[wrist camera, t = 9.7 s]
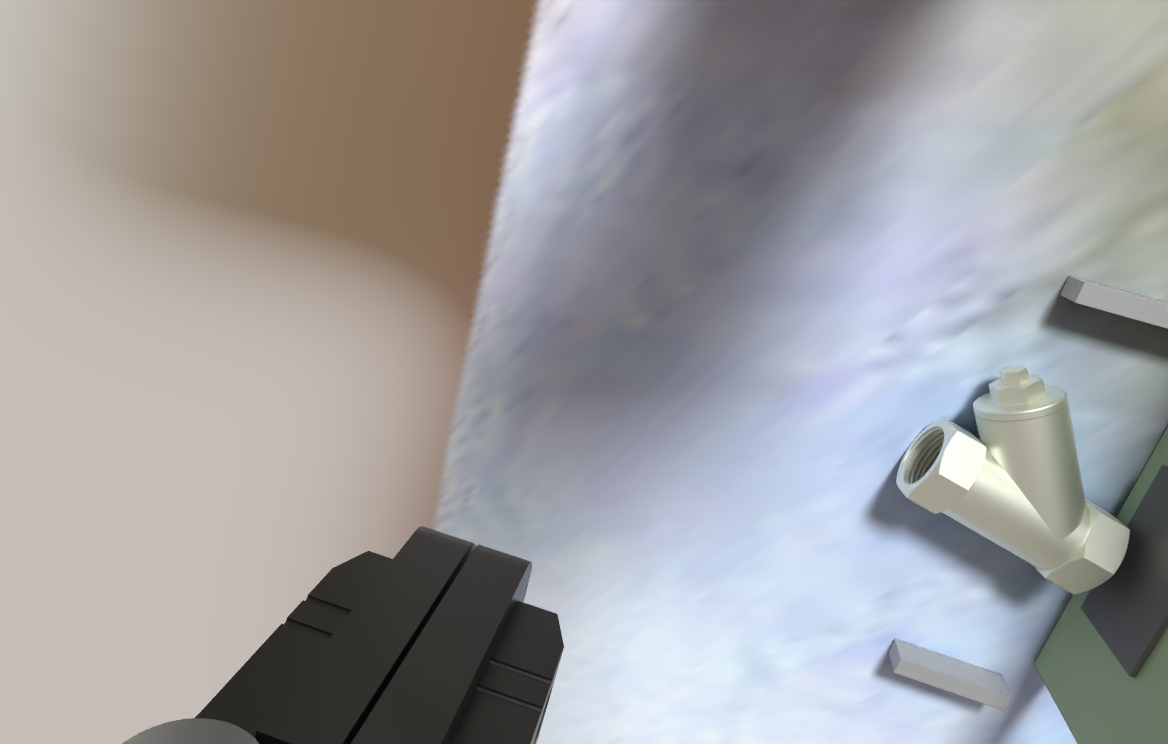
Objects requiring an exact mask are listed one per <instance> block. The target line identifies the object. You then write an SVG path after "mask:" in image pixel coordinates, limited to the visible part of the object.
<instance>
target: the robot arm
mask: <svg viewBox="0 0 1168 744" xmlns="http://www.w3.org/2000/svg"><path fill="white" fill-rule="evenodd" d="M531 568H532V562H530V561H527V560H524V559H521V558H518V557H515V556H512V555H509V554H506V553H503V552H500V551H496V550H493V549H490V548H487V547H484V546H481V545H477V546H476V545H475V544H474V543H471V542H468V541H465V540H462V539H459V538H456V537H453V536H450V535H447V534H444V533H441V532H438V531H435V530H432V529H429V528H426V527H423V526H422V527H419V528H418V529H417V530H416V531H415V532H414V534H413V535H412V536H411V537H410V539H409V540H408V541H407V542H406V544H405V545H404V546H403V547H402V549H401V550H400V551H399V552H398V554H397V555H396V556H395V557H394V559H391V558H387V557H385V556H382V555H379V554H376V553H373V552H370V551H368V552H365V553H363V554H361V555H359V556H357V557H355V558H353V559H351V560H349V561H347V562H345V563H343V564H340V565H339V566H337V567H334V568H333V569H331V571H330V572H329V573H328V574H327V575H326V576H325V577H324V578H323V579H322V580H321V581H320V583H319V584H318V585H317V586H316V587H315V588H314V589H313V590H312V591H311V592H310V593H309V595H308V597H307V599H306V601H302V602H301V603H300V604H299V605H298V607H297V608H296V609H295V610H294V611H293V612H292V613H291V614H290V615H289V616H288V618H287V620H286V623H285V624H281V625H280V626H279V627H278V629H277V630H276V631H275V632H274V633H273V634H272V635H271V636H270V637H269V638H268V639H267V640H266V641H265V642H264V644H263V645H262V646H261V647H260V648H259V649H258V650H257V651H256V652H255V653H254V654H253V656H252V657H251V658H250V659H249V660H248V661H247V662H246V663H245V664H244V666H242V668H241V669H240V670H239V671H238V672H237V673H236V674H235V675H234V676H233V677H232V679H231V680H230V681H229V682H228V683H227V684H226V685H225V686H224V687H223V688H222V689H221V690H220V692H219V693H218V694H217V695H216V696H215V697H214V698H213V699H212V700H211V701H210V702H209V703H208V705H207V706H206V707H205V708H204V709H203V710H202V711H201V712H200V713H199V714H198V715H197V716H196V717H195V718H193V719H182V720H177V721H172V722H167V723H164V724H161V725H158V726H155V727H152V728H150V729H147V730H145V731H143V732H141V733H139V734H137V735H135V736H134V737H132V738H130V739H129V740H127V741H126V742H124V743H122V744H536V743H537V740H538V736H539V733H540V729H541V726H542V722H543V719H544V715H545V712H546V708H547V705H548V701H549V698H550V694H551V691H552V687H553V683H554V680H555V676H556V673H557V669H558V666H559V662H560V659H561V655H562V652H563V648H564V645H563V640H562V635H561V630H560V625H559V620H558V615H557V614H555V613H552V612H549V611H546V610H543V609H541V608H538V607H535V606H532V605H529V604H526V603H523V601H524V597H525V593H526V589H527V585H528V581H529V577H530V573H531Z"/></svg>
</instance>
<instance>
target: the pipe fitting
mask: <svg viewBox="0 0 1168 744" xmlns="http://www.w3.org/2000/svg"><path fill="white" fill-rule="evenodd" d="M1000 377H1001V378H999V379H997V380H995V381H993V382H992V383H990V384H989V389H990V392H989V393H987V394H984V395H982V396H980V397H979V398H977V399H976V400H975V401H974V403H973V408H974V413H975V418H976V423H977V428H978V433H979V439H980V440H979V439H978V438H977V437H976V436H974V435H973V434H972V433H971V432H969V431H967V430H965V429H964V428H962V427H960V426H958V425H957V424H955V423H953V422H951V421H950V420H948V419H946V418H944V417H943V418H941V419H939V420H937V421H935V422H933V423H932V424H930V425H929V426H927V427H926V428H925V429H924V430H923V431H922V432H921V433H920V434H919V435H918V436H917V437H916V438H915V440H914V441H913V442H912V443H911V445H910V446H909V448H908V450H907V451H906V453H905V455H904V457H903V459H902V461H901V463H900V466H899V469H898V473H897V479H896V484H897V486H898V488H899V489H900V490H901V492H902V493H903V494H904V495H905V496H906V497H907V498H908V499H909V500H911V501H913V502H915V503H916V504H918V505H920V506H921V507H923V508H925V509H927V510H928V511H930V512H932V513H934V514H937V513H940V512H942V513H944V514H945V515H947V516H949V517H951V518H952V519H954V520H956V521H958V522H959V523H961V524H963V525H964V526H966V527H968V528H970V529H971V530H973V531H975V532H977V533H978V534H980V535H982V536H984V537H985V538H987V539H989V540H990V541H992V542H994V543H996V544H997V545H999V546H1001V547H1002V548H1004V549H1006V550H1008V551H1009V552H1011V553H1013V554H1015V555H1016V556H1018V557H1020V558H1021V559H1023V560H1025V561H1027V562H1028V563H1030V564H1032V565H1033V566H1034V567H1035V568H1036V569H1037V570H1038V572H1039V573H1041V574H1042V575H1043V576H1044V577H1045V578H1046V579H1047V580H1049V581H1051V582H1053V583H1054V584H1056V585H1058V586H1060V587H1061V588H1063V589H1065V590H1066V591H1068V592H1070V593H1072V594H1073V595H1075V594H1078V593H1082V592H1085V591H1088V590H1090V589H1093V588H1095V587H1097V586H1099V585H1101V584H1102V583H1104V582H1105V581H1107V580H1108V579H1109V578H1110V577H1112V576H1113V575H1114V573H1115V572H1116V571H1117V569H1118V568H1119V566H1120V565H1121V563H1122V561H1123V558H1124V556H1125V554H1126V550H1127V546H1128V542H1129V535H1130V529H1129V528H1128V527H1126V526H1125V525H1124V524H1123V523H1122V522H1121V521H1119V520H1118V519H1117V518H1115V517H1114V516H1113V515H1111V514H1110V513H1109V512H1107V511H1106V510H1104V509H1103V508H1101V507H1099V506H1098V505H1096V504H1094V503H1092V502H1091V501H1089V500H1087V499H1085V497H1084V491H1083V486H1082V480H1081V474H1080V469H1079V463H1078V457H1077V451H1076V446H1075V440H1074V434H1073V428H1072V422H1071V416H1070V411H1069V405H1068V399H1067V394H1066V392H1065V391H1064V390H1063V389H1061V388H1058V387H1054V386H1048V385H1044V382H1043V380H1042V379H1041V378H1040V377H1038V376H1036V375H1031V374H1028V372H1027V369H1026V368H1025V367H1024V366H1012V367H1007V368H1004V369H1002V370H1001V371H1000Z"/></svg>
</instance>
